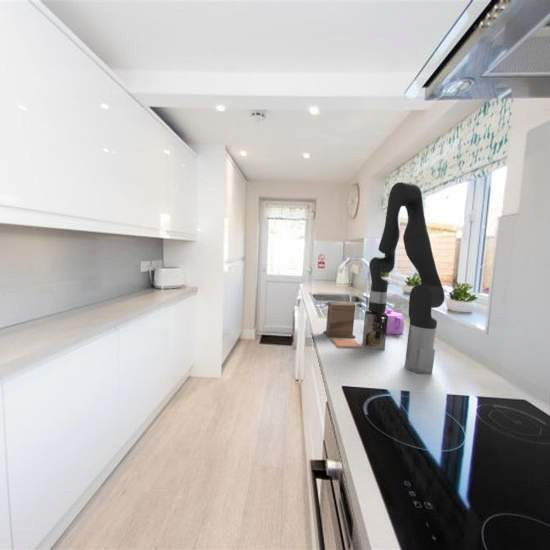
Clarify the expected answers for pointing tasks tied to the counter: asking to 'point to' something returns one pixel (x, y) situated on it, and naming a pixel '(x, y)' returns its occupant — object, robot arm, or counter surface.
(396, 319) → the teakettle
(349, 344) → the terracotta pad
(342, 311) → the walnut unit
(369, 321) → the coffee box
